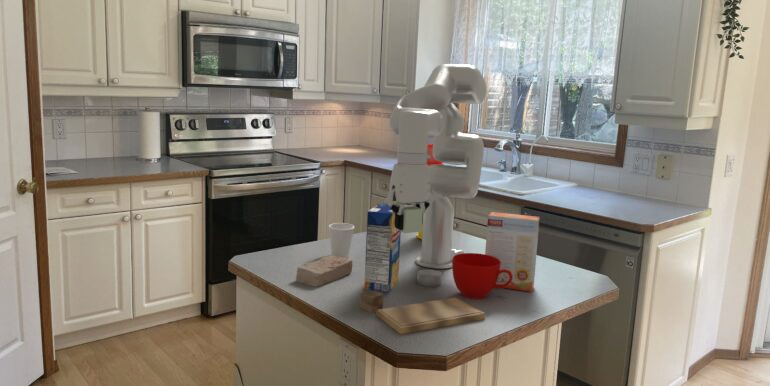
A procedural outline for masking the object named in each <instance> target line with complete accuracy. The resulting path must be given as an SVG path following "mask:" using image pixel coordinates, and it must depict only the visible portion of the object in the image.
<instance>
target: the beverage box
mask: <svg viewBox="0 0 770 386" xmlns="http://www.w3.org/2000/svg"><path fill="white" fill-rule="evenodd" d="M366 217H367V218H366V219H367V221H366V239H365V240H366V241H365V243H366V244H365V262H364V263H365V265H364V266H365V267H364V287H363V289H364V290H367V291H371V290H372V291H373V290H374V291H375V292H379V293H390V291H391V290H392V289H393V288H394V287H395V285H396V284H397V283H398V281H399V270H400V254H401V253H400V251H401V250H400V249H401V233H402V232H401V231H399V230H397V229H395V224H394V221H395V213H394V212H393V211H392V210H391V209H390V207H389V206H387V205H386V204H385V203H384V204H382V203H378V204H377V205H375V206H374V207H372V208H370V209H368V210H367V215H366Z"/></svg>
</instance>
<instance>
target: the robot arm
mask: <svg viewBox="0 0 770 386" xmlns="http://www.w3.org/2000/svg"><path fill="white" fill-rule="evenodd" d="M486 95H487V83H486V80H485V78H484V76H483V74H482V72H481V71H480V70H479V68H477V67H476V66H474V65H471V64H456V63H455V64H452V63H444V64H440V65H437V66H436V67H434V69H433V70H432V71H431V73H430V75H429V77H428V79H427V80H426V82H425V84H424V86H422V87H419V88H417V89H415V90H413V91H411V92H409V93H406V94H405V95H402V96H401V97H400V98H399V99H398V100H397V102H396V104H395V105H394V107H393V110H392V112H391V114H390V118H389V127H390V129H391V132H393V134H395V135H397V136H398V138H397V161H396V163H393V166H392V167H393V168H392V170H391V176H390V183H389V189H388V190H389V191H388V195H387V196H386V198H385V199H384V200H383V203H384V205H387V206H389V207H390V209H391V210H392V211H393V212H394V213H395V221H394V224H395V228H397V229H399V230H403V220H404V215H402V212H403V209H404V206H406V204H414V206H416V207H419V208H421V209H423V213H424V214H422V224H423V232H422V239H421V251H420V255H418V256H417V257H416V258H415V263H416V265H419V266H421V267H424V268H426V269H427V268H428V269H433V270H439V269H441V270H443V269H445V270H446V269H450V268H452V260H453V257H454V256H455V255H458V254H463V253H465V252H464V250H463V249H458V250H456V249H455V248H453V247H452V246H453V245H452V244H453V232H454V231H453V229H454V219H455V218H454V217H455V210H454V206H453V205H452V203H451V201H450V199H449V198H452V197H453V198H460V199H473V198H475V197H476V195H477V194H478V191H479V188H480V187H479V186H480V183H481V182H480V181H481V174H482V167H483V162H484V161H483V160H484V153H485V148H484V147H485V146H484V145H485V144H484V141H483V139H482V137H481V136H480V135H478V134H472V133H464V131H463V130H464V125H465V119H464V117H463V114H462V113H461V111H460V110H459V109H458V107H456V104H463V105H464V104H467V105H469V104H470V105H479V104H481V103H483V101H484V100H485V98H486ZM454 103H455V104H454ZM430 138H431V139H433V143H432V144H433V157H434V158H435V159H436V160H437V161H440V162H442V163H448V164H457V165H459V164H460V165H465V166H456V165H448V164H447V165H446V164H444V165H431V166H429V167H428V165H427V164H426V163H427V160H428V159H430V157H431V156H430V154H427V146H428V144H429V143H428V142H429V139H430ZM448 197H449V198H448ZM393 202H394V203H393Z"/></svg>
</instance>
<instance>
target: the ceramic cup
mask: <svg viewBox="0 0 770 386" xmlns="http://www.w3.org/2000/svg"><path fill="white" fill-rule="evenodd" d="M500 264H501V262H500V260H499V259H497V258H495V257H493V256H489V255H485V253H475V252H472V253H471V252H464V253H463V254H458V255H455V256H454V257H453V260H452V267H451V268H452V278H453V282H454V284H455V286H456V288H457V290H458V291H459V293H461V295H462V296H463V297H466V298H468V299H469V298H470V299H473V300H479V299H484V298H486V297H487V296H488V295H489V294H490V293H491V292H492V291H493V290H494V289H501V288H502V287H505V286H507V285H509V284H510V283H511V281H512V278H513V276H512V273H511V272H510V271H509V270H505V269H503V270H500ZM503 272H505V273H508V274H509V277H510V278H509V281H508V282H507V283H505V284H502V285H496V282H497V279H498V276H499V274H501V273H503ZM502 289H503V288H502Z"/></svg>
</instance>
